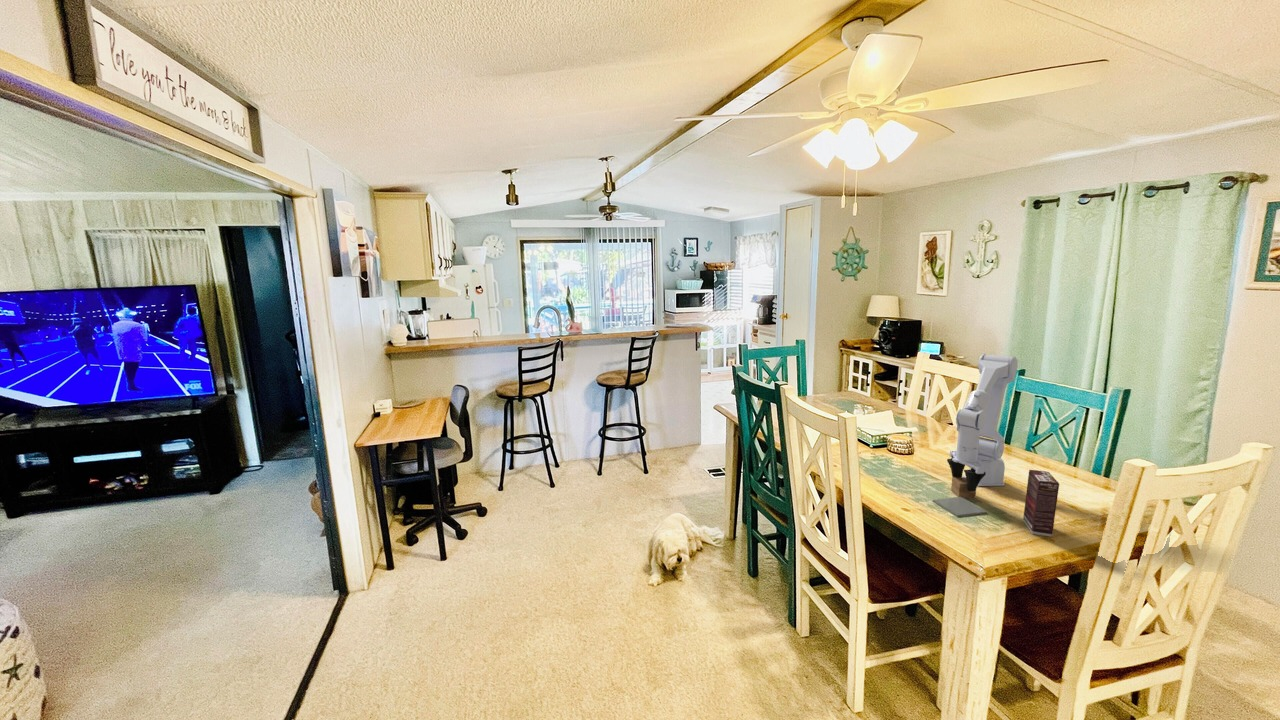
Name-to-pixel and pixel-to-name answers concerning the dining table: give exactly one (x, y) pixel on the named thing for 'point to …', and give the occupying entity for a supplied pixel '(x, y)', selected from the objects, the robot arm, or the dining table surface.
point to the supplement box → (1040, 502)
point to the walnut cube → (961, 488)
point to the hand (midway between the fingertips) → (963, 485)
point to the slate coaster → (959, 506)
